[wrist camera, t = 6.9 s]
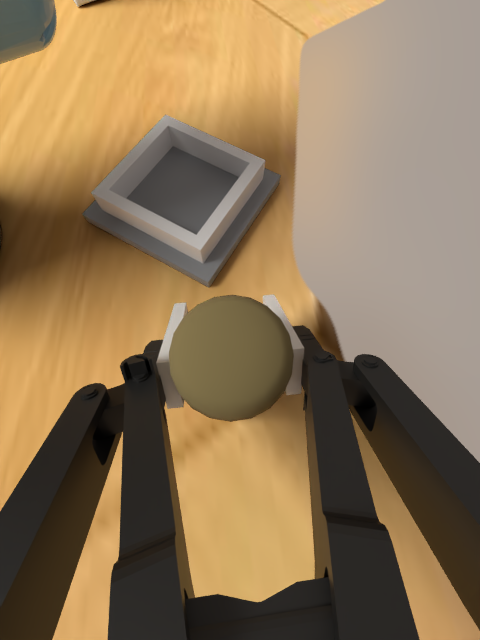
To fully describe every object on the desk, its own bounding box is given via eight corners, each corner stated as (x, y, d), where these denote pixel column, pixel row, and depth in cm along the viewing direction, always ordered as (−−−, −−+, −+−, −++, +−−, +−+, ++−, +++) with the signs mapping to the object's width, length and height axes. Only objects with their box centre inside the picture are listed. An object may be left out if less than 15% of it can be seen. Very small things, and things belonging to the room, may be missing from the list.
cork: (179, 404, 19) (118, 403, 9) (208, 328, 21) (184, 254, 11) (258, 431, 19) (290, 464, 8) (280, 352, 21) (329, 298, 10)
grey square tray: (88, 221, 24) (68, 197, 21) (169, 132, 28) (162, 101, 25) (209, 287, 22) (205, 270, 20) (278, 183, 26) (284, 156, 23)
